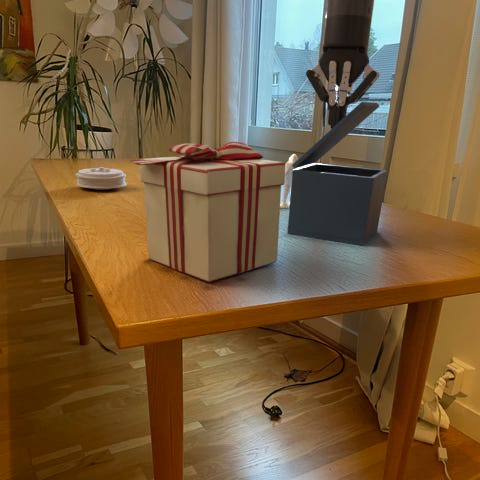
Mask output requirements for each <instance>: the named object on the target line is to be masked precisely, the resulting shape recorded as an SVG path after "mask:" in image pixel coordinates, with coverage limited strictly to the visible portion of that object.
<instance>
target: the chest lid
mask: <svg viewBox="0 0 480 480" xmlns="http://www.w3.org/2000/svg"><path fill="white" fill-rule="evenodd" d="M379 108H380V104H379V103H378V102H370V101H361V102H359V104H357V105H356V106H355V107H354V108H353V109H352V110H350V112H348V113H347V114H346V116H345V117H344V118H343V119H342V120H341V121H340V122H339V123H338V124H337V125H335V126H334V127H333V128H332V129H331V128H330V130H329V131H327V132H326V133H325V135H323V136H322V137H321V138H320V139H319V140H317V141H316V142H315V143H314V144H313V145H312V146H311V147H310V148H309V149H308V150H307V151H306V152H304V153H303V154H302V155H301V156H300V157H299V158H298V160H297V161H296V162H295V163H293V164H292V166H293V167H294V168H298V167H303V166H307V165H310V164H314V163H317V162H319V160H320V159H322V158H323V157H324V156H325V155H326V154H327V153H329V152H330V151H331V150H332V149H333V148H334V147H335V146H336V145H337V144H339V143H340V142H341V141H342V140H343V139H345V137H347V136H348V135H349V134H350V133H351V132H352V131H354V130H355V129H356V128H357V127H359V125H360V124H362V123H363V122H364V121H365V120H366V119H367V118H368V117H370V116H371V115H372V114H373V113H374V112H376V110H377V109H379Z"/></svg>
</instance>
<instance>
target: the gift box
mask: <svg viewBox="0 0 480 480" xmlns="http://www.w3.org/2000/svg"><path fill="white" fill-rule="evenodd" d="M168 151H169V152H172V153H175V154H177V155H174V156H162V157H150V158H141V159H130V160H128V161H129V162H131V163H133V164H134V165H137V166H139V172H140V182H142V183H143V188H144V189H143V190H144V205H145V206H144V207H145V208H144V209H145V224H146V226H145V227H146V239H147V240H146V241H147V242H146V243H147V258H148V260H151V261H153V262H156V263H159V264H161V265H163V266H166V267H168V268H171V269H173V270H174V271H175V270H176V271H178V272H181V273H183V274H186V275H189V276H191V277H193V278H196V279H198V280H200V281H204V282H207V283H211V282H216V281H218V280H221V279H224V278H228V277H232V276H235V275H239V274H243V273H244V272H248V271H252V270H255V269H258V268H261V267H264V266H268V265H270V264H274V263H277V262H278V251H279V235H280V234H279V232H280V217H281V208H280V203H281V199H282V198H281V196H282V195H281V194H282V186H284V185H285V164H286V162H284V161H279V160H278V161H277V160H271V159H264V156H263V155H262V154H261V153H259V152H258V151H256V150H255V149H253V148H252V147H250V146H249V145H248V144H246V143H244V142H241V141H230V142H229V141H228V142H227V143H225V144H223V146H221V147H218V148H216V149H214V148H211V146H209V145H208V144H204V143H178V144H174V145H171V146H170V147H169V148H168ZM178 154H179V155H178Z"/></svg>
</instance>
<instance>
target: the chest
mask: <svg viewBox="0 0 480 480" xmlns="http://www.w3.org/2000/svg"><path fill="white" fill-rule="evenodd" d="M387 176H388V170H385V169H377V168H367V167H357V166H347V165H346V166H345V165H336V164H328V163H327V164H325V163H317V162H315V163H312V164H308V165H305V166H301V167H300V168H296V169H293V173H292V185H291V196H290V198H289V201H290V206H289V207H288V208H289V209H288V220H287V233H286V234H288V235H293V236H300V237H306V238H311V239H317V240H324V241H330V242H335V243H336V242H337V243H343V244H348V245H349V244H350V245H354V246H355V245H356V246H361V247H363V246H365V245H366V243H367V242H368V241H369V240H370V239H371V238H372V237H373V236H374V235H375V234H376V233H377V232H378V229H379V224H380V219H381V218H380V217H381V212H382V205H383V201H384V194H385V188H386V182H387Z"/></svg>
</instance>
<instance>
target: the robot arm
mask: <svg viewBox="0 0 480 480" xmlns="http://www.w3.org/2000/svg"><path fill="white" fill-rule="evenodd" d="M326 2H327V3H326V9H325V22H324V32H323V43H322V51H321V55H320V56H319V59H318V63H317V64H316V65H315V66H313V68H311V69H307V70H306V72H305V77H307V79H308V81H309V83H310V85H311V86H312V88H313V90H314V91H315V94H316V95H317V97H318V99H319V101H321V102H324V103H326V104H327V105H328V117H327V118H328V119H327V125H328V126H330V130H331V129H332V128H333V127H334V126H335V125H337V124H338V123H339V122H340V121H341V120H342V119H343V118H344V117H345V116H347V114H348V113H347V112H348V107H349V106H350V105H353V104H357V103H358V102H359V101H360V100H361V99H362V98H363V96H365V94H366V93H367V92H368V91H369V90H370V88H372V86H374V84H375V82H376V81H377V80H378V79H379V77H380V72H378V71H377V70H375V69H374V68H373V67H372V66H371V65H370V58H369V55H368V51H369V50H368V49H369V44H370V43H369V41H370V35H371V27H372V20H373V13H374V6H375V0H327V1H326ZM322 73H323V74H322ZM323 75H324V77H325V79H326V81H327V82H328V90H327V88H326V87H325V85H324V83H323V81H322V80H321V79H322V77H323ZM361 76H362V81H361V82H360V84H359V85H357V87H356V89H354V91H353V92H352V90H353V85H354V83H356V82H357V80H358V79H359V78H360V77H361Z"/></svg>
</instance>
